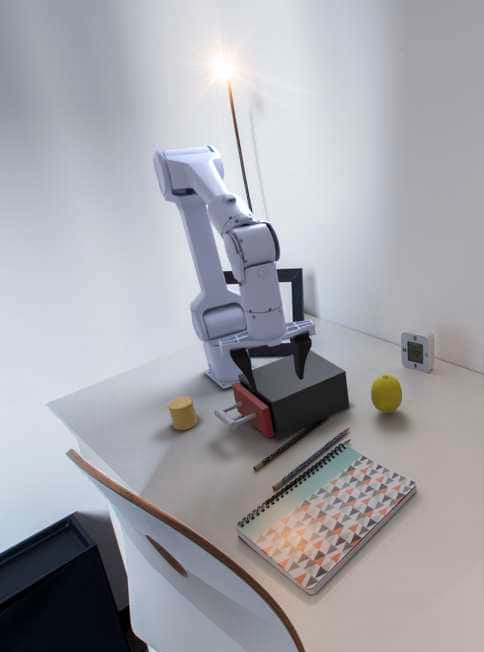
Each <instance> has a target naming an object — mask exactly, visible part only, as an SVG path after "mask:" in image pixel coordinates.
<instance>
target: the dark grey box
mask: <svg viewBox="0 0 484 652" xmlns="http://www.w3.org/2000/svg"><path fill="white" fill-rule="evenodd" d="M252 372H253V377H254V380H255V383H256V387H257V392H256V393H257V394H258V395H260V396H261V397H262V398H263V399H265V400H266V401H267V402H268V403H270V404H271V407H272V412H273V417H274V422H275V425H274V424H273V423H272V426H273V431H274V436H275V437H276V438H277V439H278V440H283V439H284V438H286V437H289V436H291V435H294V434H295V433H297V432H299V431H301V430H303V429H305V428H308V427H309V426H312V425H314V424H316V423H318V422H320V421H321V420H324V419H326V418H328V417H330V416H332V415H335V414H336V413H339V412H341V411H343V410H345V409H347V408H349V407H350V399H349V390H348V389H349V387H348V381H347V373H346V370H344V369H343V368H341V367H340V366H338V365H337V364H334V363H333V362H331V361H329V360H328V359H326V358H325V357H323V356H322V355H319V354H317V352H314V351H313V350H311V349H310V351H309V353H308V356H307V359H306V363H305V368H304V379H301V380H300V379H299V378H298V377H297V375H296V372H295V367H294V357H293V354H290V355H288V356H285V357H282V358H279V359H277V360H275V361H272V362H269V363H266V364H264V365H261V366H259V367H256V368H254V369H253V370H252ZM238 378H239V383H240V384H241V385H242V386H243V387H244V388H246V389H247V390H248V387H250V386H249V383H248V380H247V378H246V377H245V375H244V374H240V375H238Z"/></svg>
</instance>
